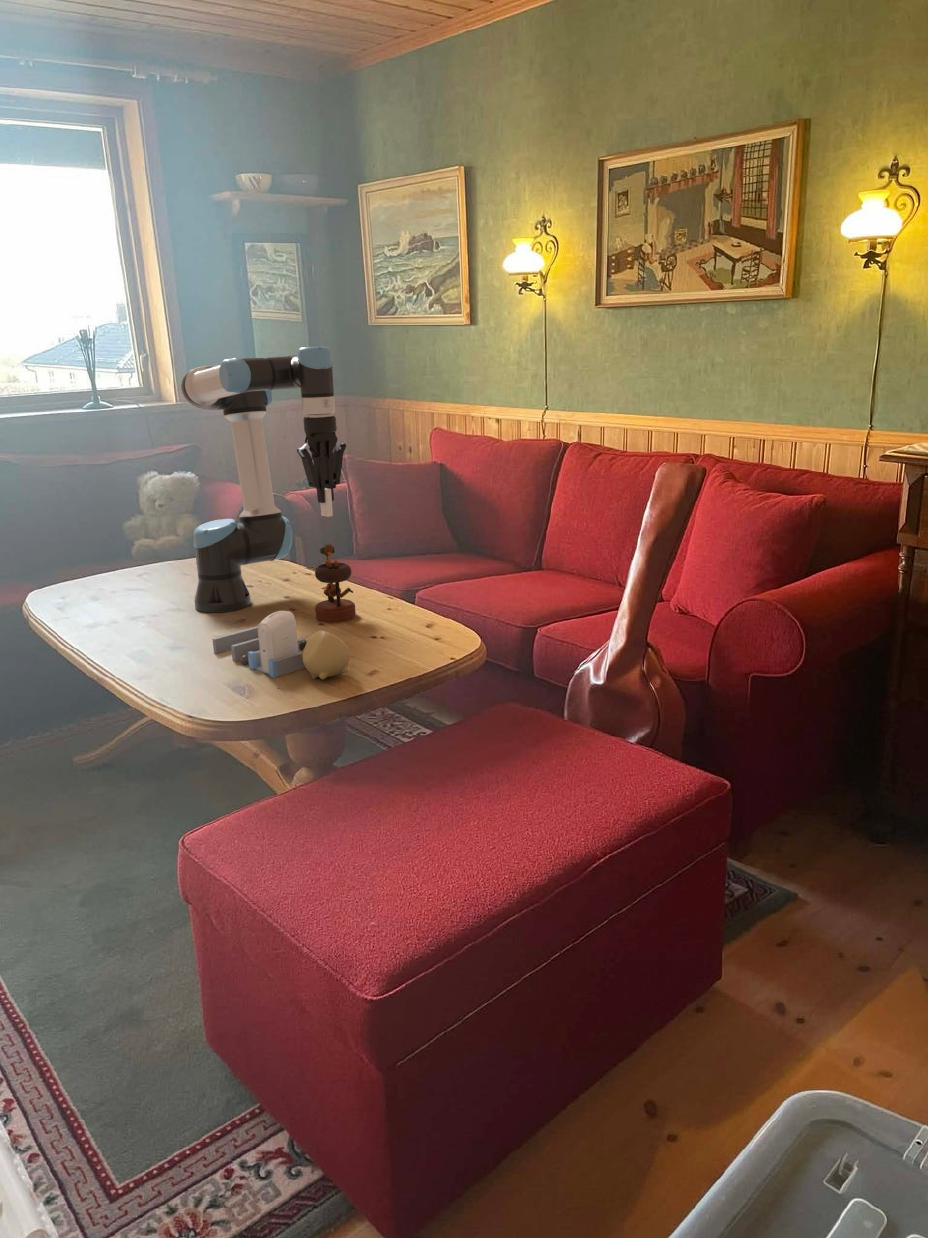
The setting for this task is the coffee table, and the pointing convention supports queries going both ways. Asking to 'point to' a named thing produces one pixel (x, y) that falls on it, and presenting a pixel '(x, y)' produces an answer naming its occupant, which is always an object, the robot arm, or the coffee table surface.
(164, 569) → the coffee table surface
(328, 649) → the tan frog figure
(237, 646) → the grey shelf rack
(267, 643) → the photo printer
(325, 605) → the music box
